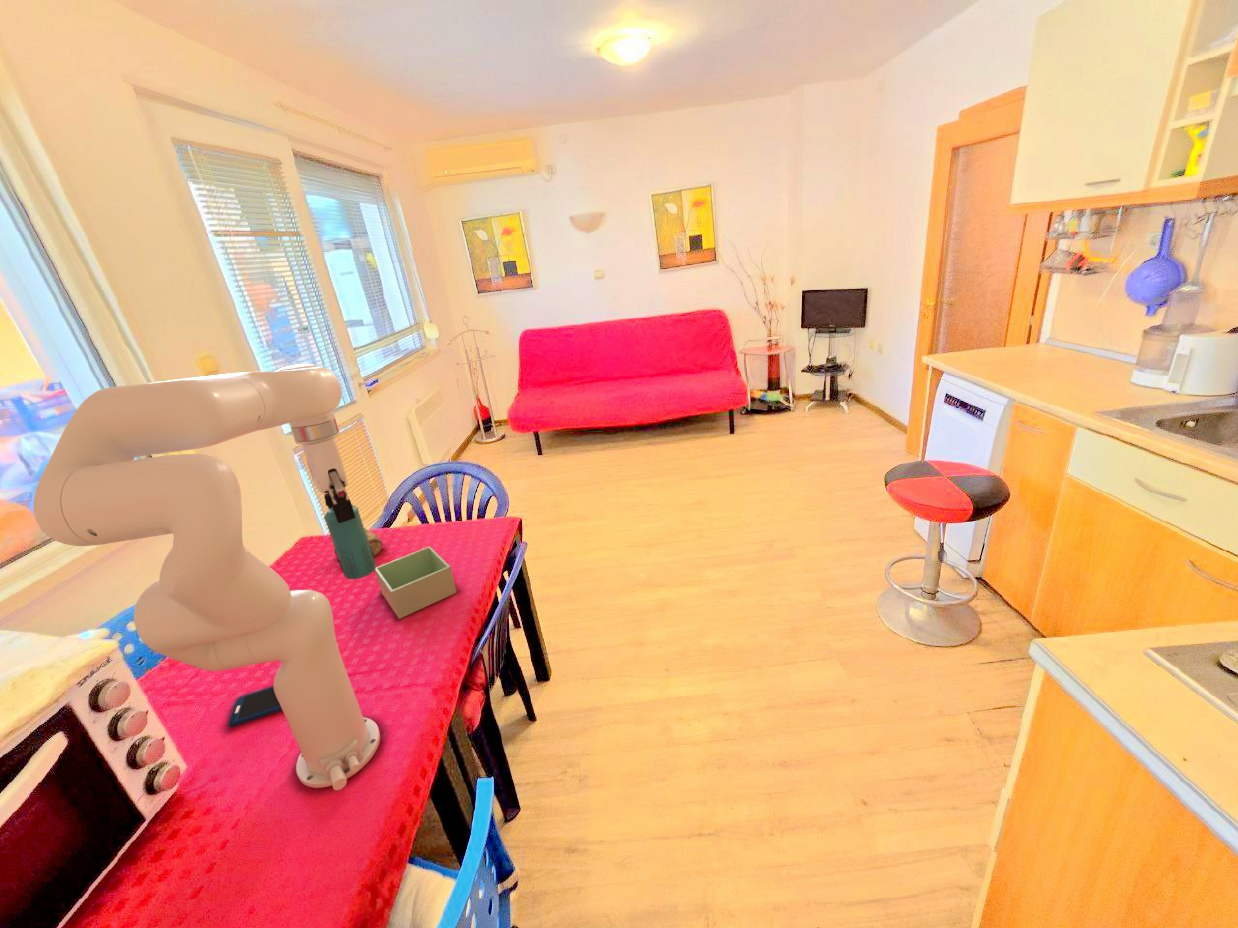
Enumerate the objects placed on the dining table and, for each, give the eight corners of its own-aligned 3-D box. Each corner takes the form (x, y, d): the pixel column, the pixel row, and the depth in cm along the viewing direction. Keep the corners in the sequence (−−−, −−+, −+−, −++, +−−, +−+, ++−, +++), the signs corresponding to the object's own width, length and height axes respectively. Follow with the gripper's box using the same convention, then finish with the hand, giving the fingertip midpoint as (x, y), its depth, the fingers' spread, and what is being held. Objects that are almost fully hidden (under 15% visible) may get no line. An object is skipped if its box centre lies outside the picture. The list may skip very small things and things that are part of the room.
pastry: (344, 546, 153) (336, 523, 150) (387, 539, 156) (380, 516, 153) (330, 571, 140) (322, 546, 137) (378, 562, 143) (370, 537, 140)
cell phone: (237, 700, 98) (236, 697, 98) (317, 674, 103) (316, 671, 103) (227, 728, 92) (226, 725, 91) (313, 699, 97) (312, 696, 96)
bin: (456, 592, 126) (450, 566, 123) (399, 619, 118) (391, 591, 115) (436, 570, 136) (429, 546, 134) (381, 593, 128) (374, 568, 125)
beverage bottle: (385, 572, 108) (359, 488, 101) (356, 589, 103) (327, 501, 96) (367, 565, 112) (341, 483, 105) (338, 581, 107) (309, 496, 99)
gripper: (286, 427, 100) (313, 508, 106) (301, 445, 87) (331, 535, 94) (327, 418, 104) (351, 497, 111) (347, 434, 91) (373, 521, 98)
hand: (342, 514), depth 102 cm, fingers closed on beverage bottle, 6 cm apart
